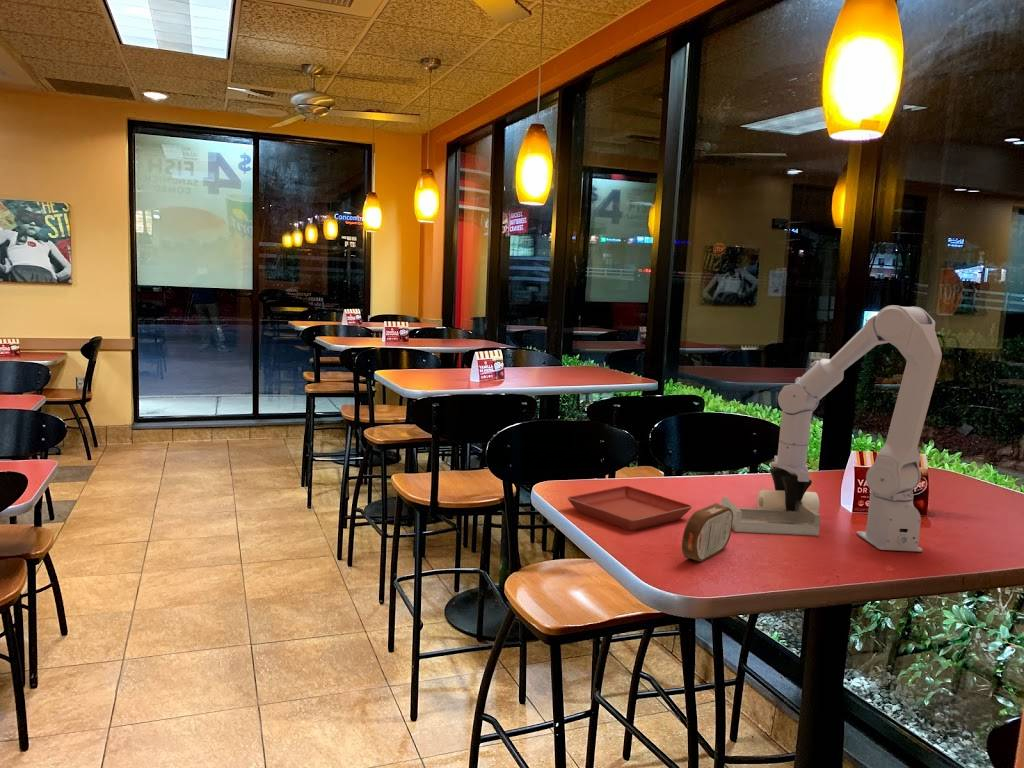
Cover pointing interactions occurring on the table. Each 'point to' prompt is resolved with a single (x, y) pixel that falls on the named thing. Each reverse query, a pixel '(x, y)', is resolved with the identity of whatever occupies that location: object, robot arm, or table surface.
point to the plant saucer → (629, 507)
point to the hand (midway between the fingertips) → (786, 506)
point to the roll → (777, 500)
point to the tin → (707, 532)
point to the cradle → (775, 519)
